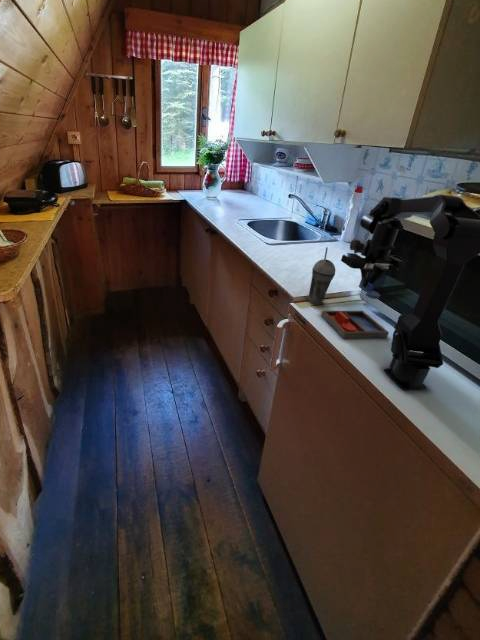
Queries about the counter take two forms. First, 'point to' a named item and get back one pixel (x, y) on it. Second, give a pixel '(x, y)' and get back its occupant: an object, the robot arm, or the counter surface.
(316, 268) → the beverage cup
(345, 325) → the red spoon
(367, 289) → the blue spoon
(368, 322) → the tray
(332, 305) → the counter surface
